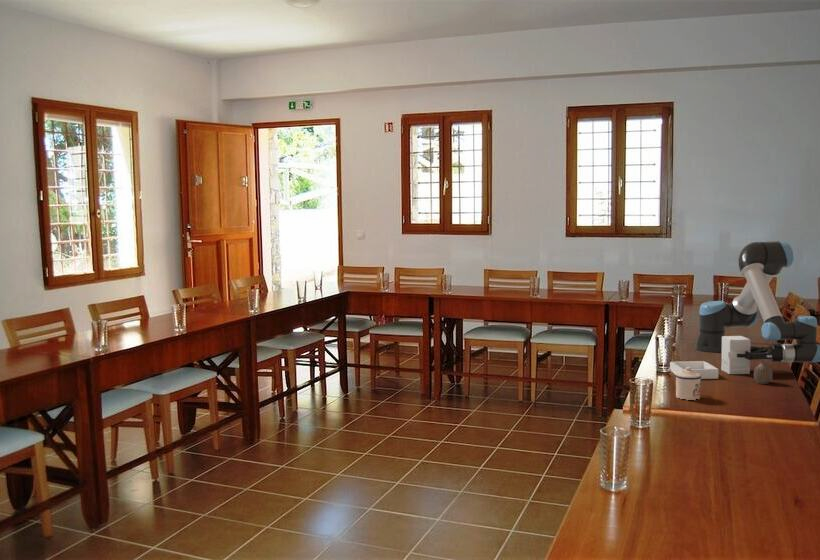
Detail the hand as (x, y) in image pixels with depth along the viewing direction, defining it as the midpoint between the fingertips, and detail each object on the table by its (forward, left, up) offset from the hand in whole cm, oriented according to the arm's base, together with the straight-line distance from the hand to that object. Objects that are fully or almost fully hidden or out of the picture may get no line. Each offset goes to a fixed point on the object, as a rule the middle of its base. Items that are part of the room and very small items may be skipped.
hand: (725, 352), depth 317 cm
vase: (+20, +7, -9) cm, 23 cm away
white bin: (+4, -15, -8) cm, 17 cm away
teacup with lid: (+38, -29, -9) cm, 48 cm away
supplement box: (+1, +4, -9) cm, 10 cm away
